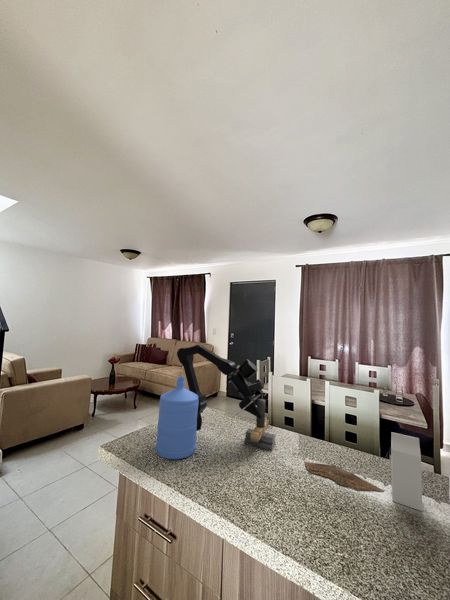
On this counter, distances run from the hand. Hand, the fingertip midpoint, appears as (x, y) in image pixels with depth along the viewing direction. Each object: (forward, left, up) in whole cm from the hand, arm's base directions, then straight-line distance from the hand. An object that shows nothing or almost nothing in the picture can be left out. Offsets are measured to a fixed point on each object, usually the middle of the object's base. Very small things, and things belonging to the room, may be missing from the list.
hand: (264, 414), depth 109 cm
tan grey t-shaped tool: (-1, +1, -8) cm, 8 cm away
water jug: (-37, +1, -13) cm, 39 cm away
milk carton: (+30, -40, -13) cm, 52 cm away
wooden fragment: (+18, -26, -13) cm, 34 cm away
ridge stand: (-1, +1, -13) cm, 13 cm away
